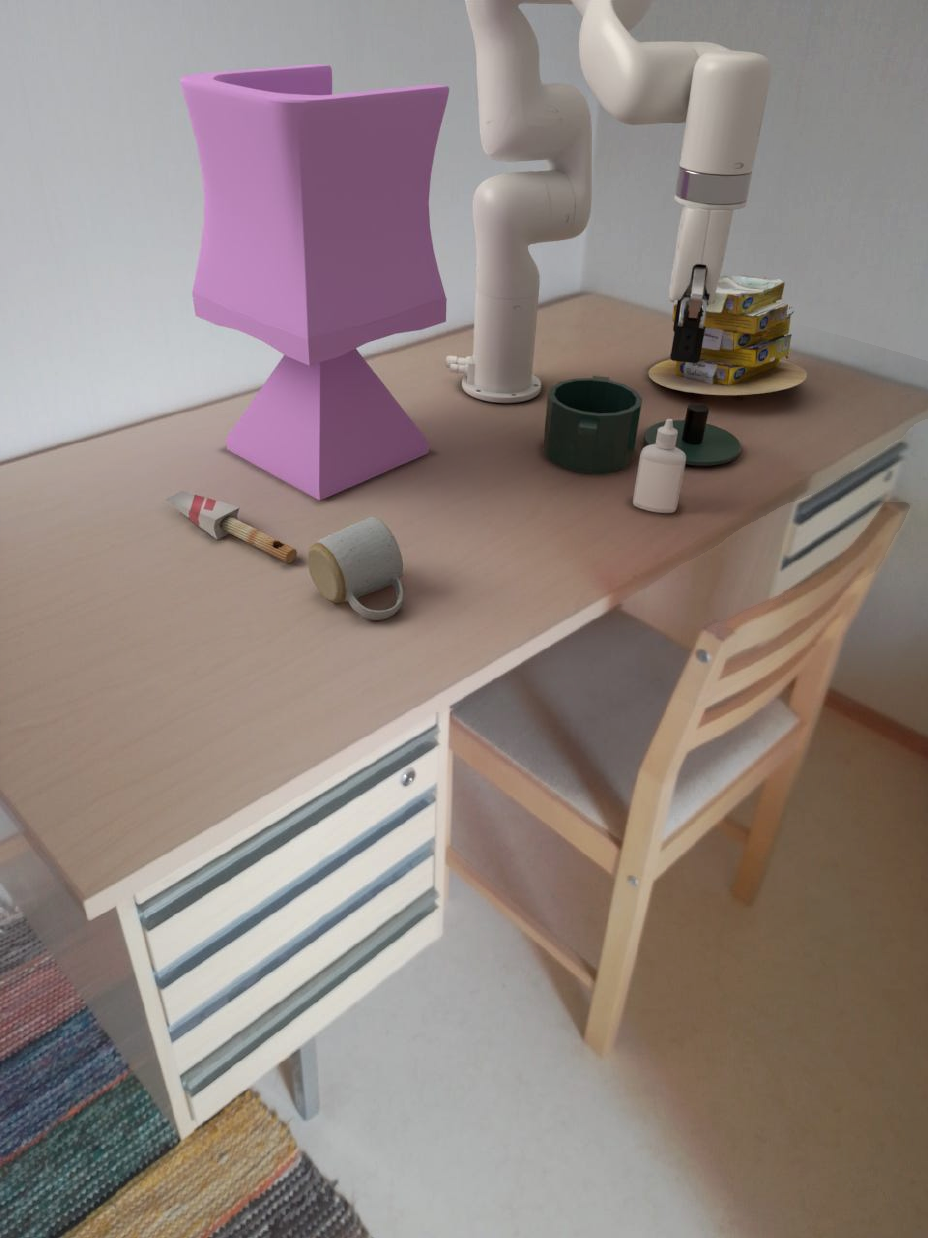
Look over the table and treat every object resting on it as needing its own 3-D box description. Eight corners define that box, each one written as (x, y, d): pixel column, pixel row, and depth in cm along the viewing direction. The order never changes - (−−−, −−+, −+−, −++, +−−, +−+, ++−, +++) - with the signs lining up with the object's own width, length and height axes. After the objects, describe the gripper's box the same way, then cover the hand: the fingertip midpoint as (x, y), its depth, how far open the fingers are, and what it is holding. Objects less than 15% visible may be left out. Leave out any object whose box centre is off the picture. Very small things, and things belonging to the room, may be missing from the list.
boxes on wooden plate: (618, 371, 160) (632, 269, 150) (724, 346, 171) (744, 250, 161) (723, 427, 143) (747, 316, 133) (833, 396, 154) (863, 292, 144)
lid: (640, 462, 133) (646, 420, 129) (645, 422, 143) (652, 383, 140) (739, 475, 131) (749, 433, 127) (737, 433, 141) (746, 394, 138)
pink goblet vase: (442, 453, 133) (452, 85, 106) (318, 508, 119) (293, 103, 92) (336, 404, 144) (321, 62, 118) (212, 449, 131) (163, 75, 104)
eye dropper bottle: (661, 520, 120) (677, 432, 113) (626, 503, 123) (640, 416, 116) (682, 509, 122) (699, 422, 115) (647, 492, 125) (661, 407, 118)
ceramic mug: (304, 587, 105) (300, 527, 100) (365, 562, 109) (364, 504, 105) (360, 635, 99) (358, 573, 94) (422, 607, 103) (424, 547, 98)
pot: (534, 475, 128) (539, 416, 123) (552, 421, 143) (558, 366, 138) (628, 488, 126) (637, 429, 121) (637, 431, 141) (645, 376, 136)
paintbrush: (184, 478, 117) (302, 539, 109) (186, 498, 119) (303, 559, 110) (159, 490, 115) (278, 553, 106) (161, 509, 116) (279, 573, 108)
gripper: (678, 169, 108) (656, 319, 118) (673, 202, 94) (648, 369, 104) (746, 174, 107) (717, 325, 117) (751, 208, 93) (718, 376, 103)
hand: (685, 346), depth 110 cm, fingers open, 9 cm apart
